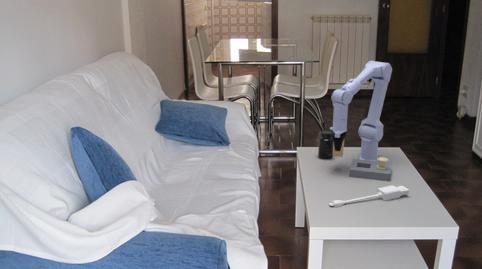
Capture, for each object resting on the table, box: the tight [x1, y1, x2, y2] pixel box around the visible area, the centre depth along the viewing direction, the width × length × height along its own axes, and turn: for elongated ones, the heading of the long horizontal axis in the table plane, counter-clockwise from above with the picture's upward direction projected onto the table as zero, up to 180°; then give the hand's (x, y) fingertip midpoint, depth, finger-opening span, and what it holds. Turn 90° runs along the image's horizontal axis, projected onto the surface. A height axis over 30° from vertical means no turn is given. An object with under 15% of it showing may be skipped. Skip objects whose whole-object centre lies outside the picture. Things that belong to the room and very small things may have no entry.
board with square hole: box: [349, 156, 392, 182], centre depth 206 cm, size 14×16×7 cm
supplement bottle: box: [317, 130, 334, 160], centre depth 224 cm, size 7×7×12 cm
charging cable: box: [328, 185, 410, 208], centre depth 180 cm, size 5×32×3 cm, turn 110°
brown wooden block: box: [333, 139, 345, 158], centre depth 208 cm, size 4×4×7 cm
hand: (338, 149), depth 208 cm, fingers closed on brown wooden block, 4 cm apart
